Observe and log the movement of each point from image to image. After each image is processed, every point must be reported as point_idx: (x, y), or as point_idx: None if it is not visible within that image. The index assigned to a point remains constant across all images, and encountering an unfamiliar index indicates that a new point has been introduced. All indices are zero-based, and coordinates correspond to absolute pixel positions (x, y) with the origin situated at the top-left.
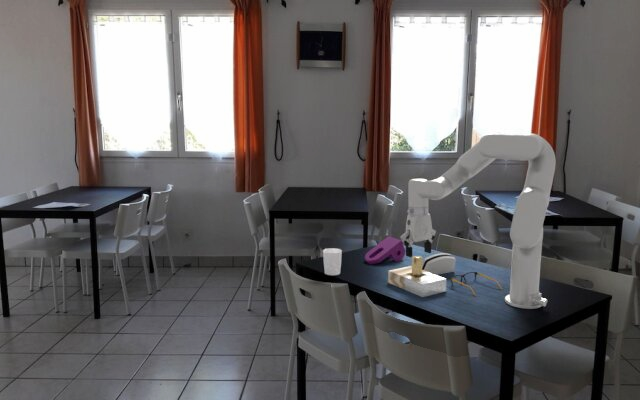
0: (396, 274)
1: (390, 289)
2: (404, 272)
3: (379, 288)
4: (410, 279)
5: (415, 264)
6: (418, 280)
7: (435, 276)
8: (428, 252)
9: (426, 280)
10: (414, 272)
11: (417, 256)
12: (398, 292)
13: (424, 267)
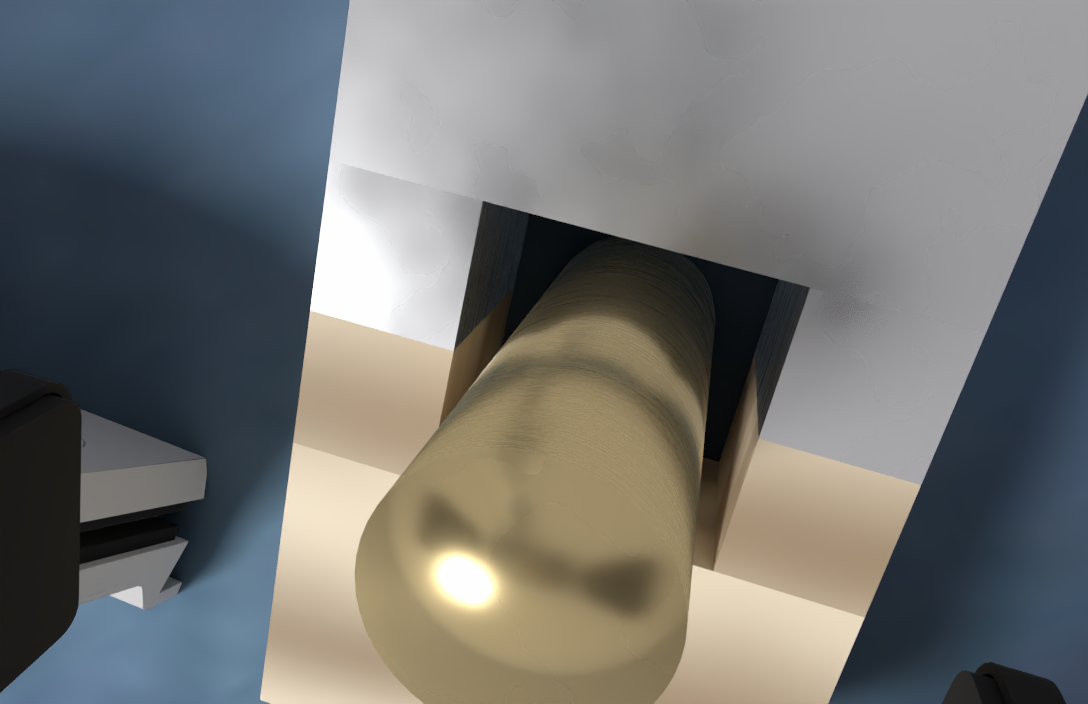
0: (828, 688)
1: (1014, 557)
2: None
3: (1077, 697)
4: (989, 323)
5: (690, 483)
6: (953, 144)
7: (437, 22)
8: (74, 451)
9: (827, 4)
10: (704, 413)
11: (435, 635)
12: (1075, 394)
13: (93, 528)
